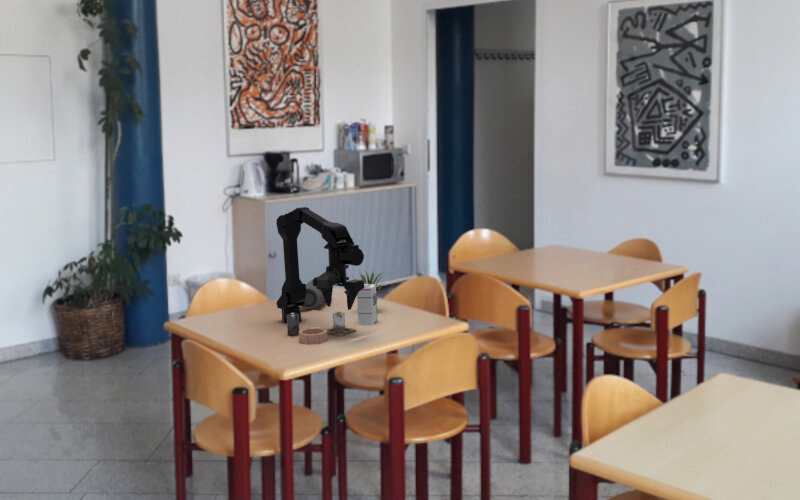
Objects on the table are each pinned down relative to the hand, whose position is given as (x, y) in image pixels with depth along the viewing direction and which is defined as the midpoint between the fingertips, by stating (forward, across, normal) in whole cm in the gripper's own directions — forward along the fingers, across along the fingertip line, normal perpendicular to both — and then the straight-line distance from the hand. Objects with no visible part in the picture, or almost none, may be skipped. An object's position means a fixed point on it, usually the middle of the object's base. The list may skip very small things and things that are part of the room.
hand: (339, 308), depth 305 cm
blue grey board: (+10, -11, -5) cm, 16 cm away
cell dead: (+8, -11, -11) cm, 18 cm away
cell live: (+9, 0, 0) cm, 9 cm away
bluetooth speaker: (+10, -39, +29) cm, 50 cm away
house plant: (+10, -13, +33) cm, 37 cm away
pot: (+10, -1, -12) cm, 16 cm away
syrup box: (+10, -1, +16) cm, 19 cm away
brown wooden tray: (+10, 0, 0) cm, 10 cm away
